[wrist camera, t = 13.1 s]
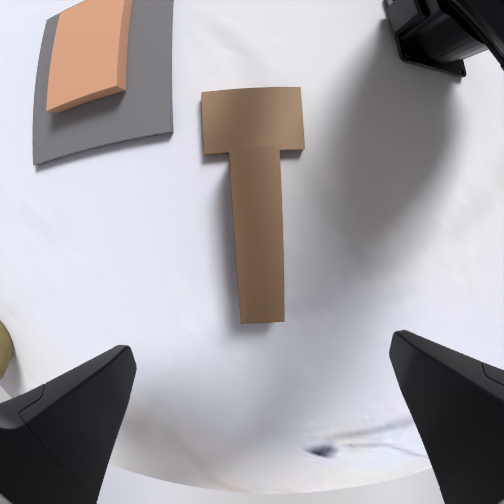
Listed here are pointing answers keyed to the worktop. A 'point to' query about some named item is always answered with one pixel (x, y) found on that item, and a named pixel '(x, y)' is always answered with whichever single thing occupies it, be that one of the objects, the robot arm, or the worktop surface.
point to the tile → (89, 53)
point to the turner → (256, 185)
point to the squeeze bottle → (4, 349)
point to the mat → (116, 105)
